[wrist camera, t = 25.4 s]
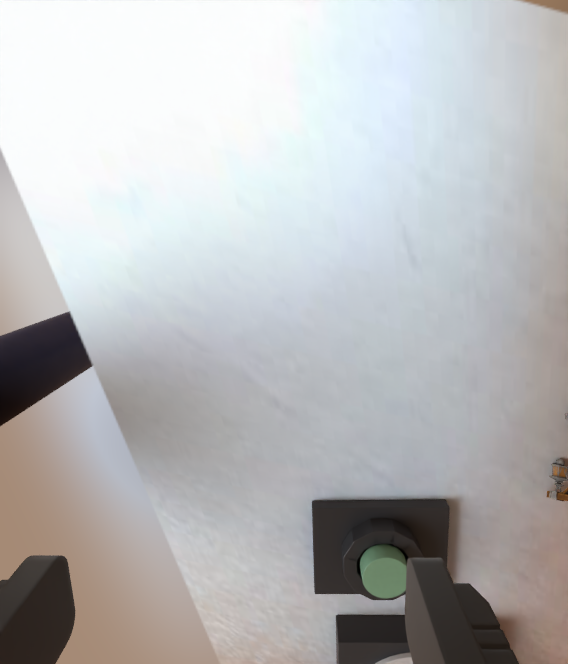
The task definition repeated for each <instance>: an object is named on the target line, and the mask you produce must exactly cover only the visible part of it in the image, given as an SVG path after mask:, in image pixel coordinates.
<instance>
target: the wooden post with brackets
mask: <svg viewBox="0 0 568 664" xmlns="http://www.w3.org/2000/svg"><path fill="white" fill-rule="evenodd" d="M565 415H566V418H565V419H568V414H565ZM556 463H557V465H555V464H552V466H553V475H552V476H550V477H552V478H553V479H555V480H556V481H555V482H557V483H554V484H555V485H556V487H557V488H556V490H555V492H554V491H547V497H549V498H551V499H555V500H560V501H564V500H565V501H568V488H567V489H566V490H565V491H563V492H561V489H560V487H561V486H564V485H563V484H561V483H563V481H568V479H567V478H566V475H567V470H568V467H566V466H564V464H565V462H564V460H563V459H557V461H556ZM558 486H559V487H558ZM557 489H560V492H557Z"/></svg>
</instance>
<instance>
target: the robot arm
mask: <svg viewBox="0 0 568 664" xmlns="http://www.w3.org/2000/svg"><path fill="white" fill-rule="evenodd" d="M74 620H75V606H74V599H73V593H72V587H71V580H70V574H69V567H68V562H67V559H66V558H65V557H64V556H30V557H28V558H26V559H25V560H24V561H23V563H22V564H21V565H20V566H19V567H18V569H17V570H16V571H15V572H14V573H13V575H12V576H11V577H10V578H9V579H8V580H1V581H0V664H55V663H56V662H57V660H58V658H59V656H60V655H61V653H62V651H63V649H64V648H65V646H66V644H67V642H68V640H69V638H70V636H71V633H72V629H73V626H74ZM405 625H406V634H407V640H408V645H409V649H410V653H411V657H412V661H413V664H519V663H518V661H517V659H516V657H515V655H514V653H513V651H512V650H511V649H510V645H509V643H508V641H507V639H506V637H505V634H504V632H503V630H501V629H500V624H499V622H498V620H497V618H496V616H495V614H494V612H493V610H492V608H491V606H490V604H489V602H488V601H487V600H486V599H485V598H483V597H482V596H481V595H480V594H479V593H478V592H477V591H476V590H475V589H474V588H473V587H472V586H471V585H470V584H461V583H453V581H452V579H451V577H450V574H449V572H448V570H447V567H446V565H445V563H444V561H443V559H442V558H408V560H407V570H406V598H405Z"/></svg>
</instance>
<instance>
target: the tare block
mask: <svg viewBox="0 0 568 664" xmlns="http://www.w3.org/2000/svg"><path fill="white" fill-rule="evenodd" d="M312 517H313V552H314V587H315V594H361V595H364V596H366V597H368V598H370V599H372V600H394V599H396V598H398V597H400V596H403V595H405V594H406V590H405V591H404V592H403V593H402V594H400V595H398V596H396V597H393V598H379V597H376V596H374V595H372V594H371V593H369V592H368V591H367V590H366V588H365V587H364V585H363V581H362V576H361V570H360V560H361V557H362V555H363V553H364V552H365V551H366V550H367V549H368V548H370V547H372V546H374V545H378V544H389V545H392V546H395V547H396V548H398V549H399V550H400V551H401V552H402V553H403V554H404V556H405V559H406V562H407V560H408V558H442V559H443V561H444V563H445V565H446V567H447V549H448V528H449V505H448V504H447V502H446V500H352V501H312Z"/></svg>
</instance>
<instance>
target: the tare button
mask: <svg viewBox="0 0 568 664" xmlns="http://www.w3.org/2000/svg"><path fill="white" fill-rule="evenodd" d="M360 570H361V576H362V581H363V585H364V587H365V588H366V590H367V591H368V592H369V593H371V594H372V595H374V596H376V597H379V598H393V597H396V596H398V595H400V594H402V593H403V592H404V591H405V590H406V570H407V562H406V559H405V556H404V554H403V553H402V552H401V551H400V550H399V549H398V548H396V547H395V546H392V545H389V544H378V545H374V546H372V547H370V548H368V549H367V550H366V551H365V552H364V553H363V555H362V557H361V560H360Z"/></svg>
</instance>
